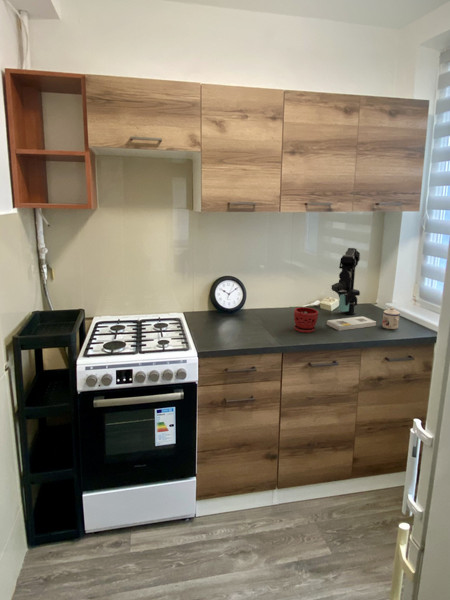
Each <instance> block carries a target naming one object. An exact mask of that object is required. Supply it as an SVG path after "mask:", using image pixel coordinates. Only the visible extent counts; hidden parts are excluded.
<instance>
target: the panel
mask: <svg viewBox="0 0 450 600" xmlns="http://www.w3.org/2000/svg"><path fill="white" fill-rule="evenodd" d="M326 325H327V326H329V327H331V328H333V329H335V330H337V331H339V332H341V331H347V330H348V331H349V330H353V329H354V330H355V329H363V328H368V327H369V328H370V327H371V328H372V327H375V326H376V327H377V321H375V320H374V319H371V318H369V317H366V316H355V317H354V316H353V317H345V318H338V319H329V320H326Z"/></svg>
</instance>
